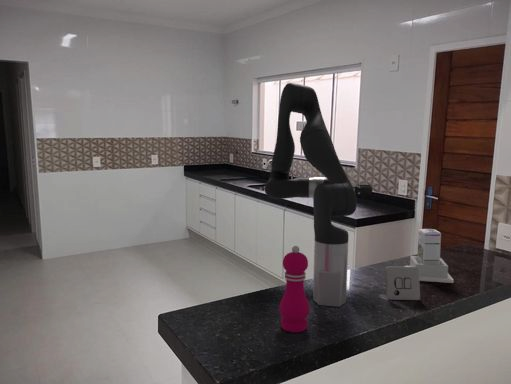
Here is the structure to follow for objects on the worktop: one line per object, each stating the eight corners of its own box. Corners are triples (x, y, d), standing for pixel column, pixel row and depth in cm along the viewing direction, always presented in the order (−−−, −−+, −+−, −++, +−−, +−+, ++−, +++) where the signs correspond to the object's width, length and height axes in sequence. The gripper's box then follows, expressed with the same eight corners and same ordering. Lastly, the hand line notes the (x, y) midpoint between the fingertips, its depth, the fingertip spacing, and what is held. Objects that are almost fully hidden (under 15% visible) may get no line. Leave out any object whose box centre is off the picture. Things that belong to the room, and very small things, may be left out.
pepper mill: (272, 326, 101) (274, 245, 98) (292, 317, 106) (293, 240, 103) (295, 336, 96) (297, 251, 93) (315, 326, 101) (317, 246, 98)
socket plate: (453, 283, 133) (454, 267, 132) (410, 280, 136) (411, 265, 135) (443, 270, 146) (444, 256, 145) (404, 268, 148) (405, 254, 148)
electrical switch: (387, 300, 118) (387, 267, 118) (382, 295, 123) (382, 264, 123) (420, 301, 118) (421, 268, 117) (414, 296, 123) (415, 265, 123)
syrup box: (439, 275, 137) (442, 232, 136) (421, 275, 138) (423, 232, 136) (433, 270, 143) (435, 228, 141) (415, 269, 143) (418, 228, 141)
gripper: (322, 178, 137) (373, 179, 134) (323, 176, 151) (370, 176, 148) (321, 201, 138) (372, 202, 134) (323, 196, 152) (369, 197, 148)
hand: (371, 188), depth 141 cm, fingers open, 8 cm apart
